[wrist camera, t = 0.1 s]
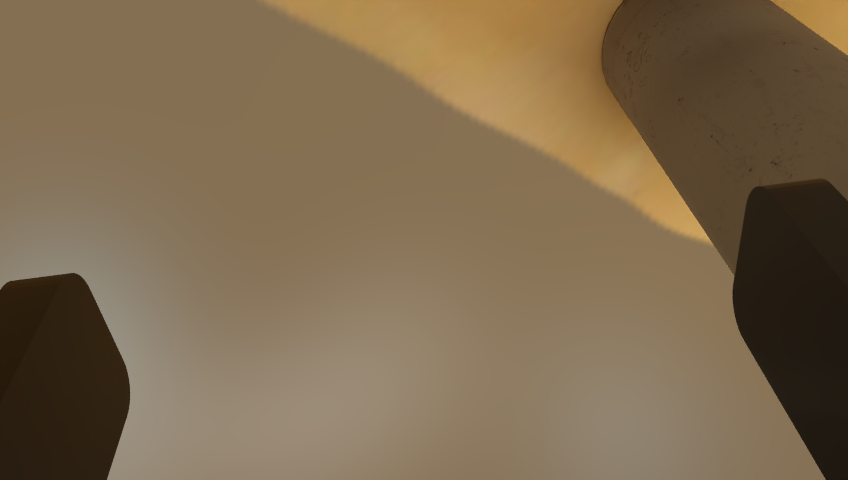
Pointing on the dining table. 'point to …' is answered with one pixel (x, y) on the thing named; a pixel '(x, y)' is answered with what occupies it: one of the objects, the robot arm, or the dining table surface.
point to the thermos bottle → (729, 101)
